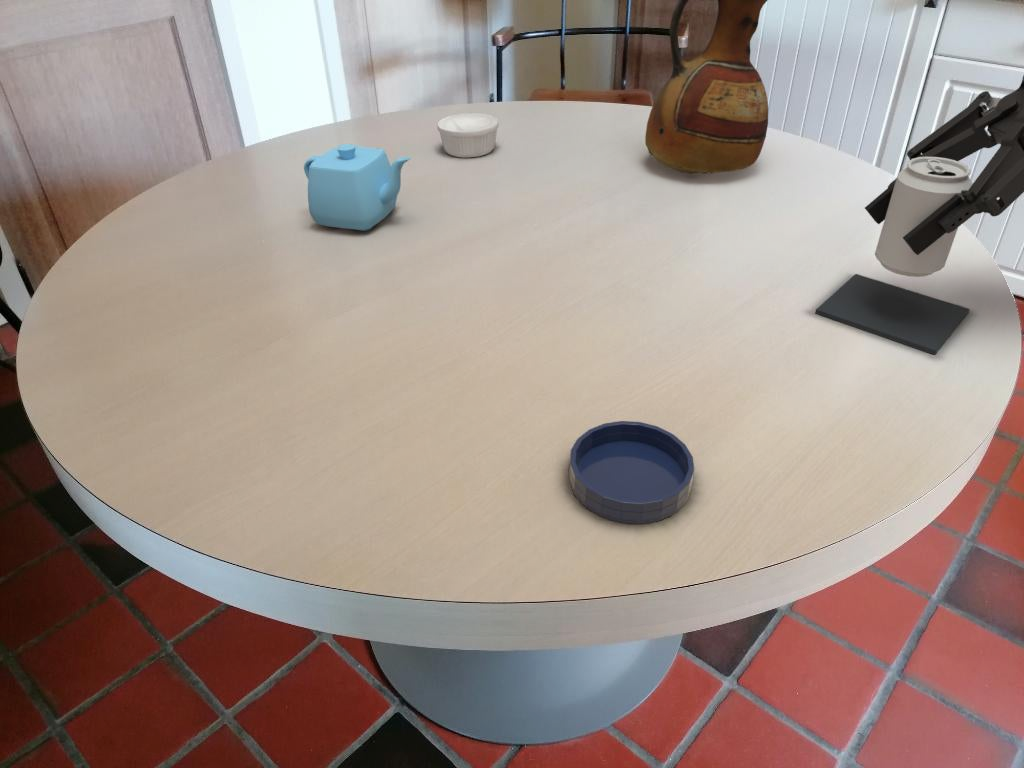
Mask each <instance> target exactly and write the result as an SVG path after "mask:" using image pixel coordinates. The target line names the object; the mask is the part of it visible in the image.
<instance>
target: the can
mask: <svg viewBox="0 0 1024 768" xmlns="http://www.w3.org/2000/svg"><path fill="white" fill-rule="evenodd" d="M971 173H972V170H971V168H970V167H969V166H968V164H967V165H966V164H964V163H963V162H960V161H955V160H951V159H947V158H940V157H918V158H914V159H911V160H910V159H909V160H908V161H907V164H906V167H905V168H904V169H902V170H901V171H899V172H898V173H897V175H896V178H897V179H896V178H895V179H896V182H895V186H894V189H893V193H892V196H891V200H890V203H889V206H888V210H887V213H886V217H885V220H884V221H883V224H882V228H881V231H880V234H879V238H878V241H877V245H876V248H875V251H874V256H875V258H876V260H877V261H878V262H879V263H880V265H881V266H882V267H883V268H884V269H885V270H887V271H889V272H891V273H892V274H893V273H894V274H896V275H900V276H904V277H911V278H920V277H928V276H932V275H933V273H937V272H939V271H941V270H942V269H943V268H945V267H946V263H947V260H948V258H949V256H950V255H949V254H950V252H951V249H952V246H953V244H954V240H955V238H956V235H957V232H958V229H959V227H958V228H957V229H955V230H954V231H953V232H950V233H945V234H944V235H943V236H941V237H940V238H939V239H938V240H936V241H935V242H934V243H933V244H931V245H930V246H929V247H928V248H926V249H925V250H924V251H923V252H921V253H920V254H919V255H917V254H915V253H914V252H913V251H912V249H911V248H910V247H909V245H908V244H907V243H906V242H905V240H904V239H903V237H904V236H905V235H906V234H908V233H909V232H910V231H911V230H912V229H914V228H915V227H916V226H917V225H919V224H920V223H921V222H922V221H924V220H925V219H926V218H927V217H928V216H930V215H931V214H932V213H933V212H935V211H936V210H937V209H938V208H940V207H941V206H942V205H943V204H944V203H946V202H947V201H948V200H950V199H951V198H952V197H953V196H955V195H956V194H957V195H959V196H960V197H961V198H962V200H964V197H963V196H962V194H961V191H962V190H963V191H964V190H969V188H970V187H971V186H972V184H973V183H974V182H972V179H971V178H970V175H971Z"/></svg>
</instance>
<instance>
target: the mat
mask: <svg viewBox="0 0 1024 768" xmlns="http://www.w3.org/2000/svg"><path fill="white" fill-rule="evenodd" d="M970 311H971V308H970V307H969V308H968V307H964V306H962V305H959V304H956V303H953V302H949V301H945V300H942V299H939V298H936V297H933V296H930V295H927V294H923V293H920V292H917V291H913V290H909V289H906V288H903V287H900V286H896V285H895V284H891V283H887V282H884V281H881V280H878V279H874V278H871V277H867V276H864V275H862V274H857V273H855V274H854V275H852V276H851V278H849V279H848V280H847V281H846V282H845V283H843V285H841V286H840V287H839V288H838V289H837V290H836V291H835V292H834V293H832V294H831V295H830V296H829V297H828V298H826V300H824V301H823V302H822V303H821V304H820V305H819V306H818V307H817V308H816V309H815V312H814V314H816V315H819V316H821V317H825V318H827V319H830V320H833V321H835V322H839V323H841V324H844V325H847V326H850V327H853V328H857V329H859V330H862V331H865V332H867V333H870V334H874V335H876V336H880V337H882V338H886V339H888V340H890V341H894V342H897V343H900V344H902V345H905V346H908V347H911V348H913V349H917V350H919V351H923V352H926V353H928V354H930V355H931V354H932V355H937V353H938V352H939V350H940V349H941V348H942V346H943V345H944V344H945V343H946V342H947V340H948V339H949V338H950V337H951V335H952V334H953V333H954V332H955V331H956V329H957V328H958V327H959V326H960V324H961V323H962V322H963V321H964V320H965V318H966V317H967V316H968V314H969V313H970Z"/></svg>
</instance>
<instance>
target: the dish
mask: <svg viewBox="0 0 1024 768" xmlns="http://www.w3.org/2000/svg"><path fill="white" fill-rule="evenodd" d="M694 475H695V463H694V456H693V455H692V453H691V451H690V450H689V448H688V446H687V445H686V444H685V443H684V442H683V441H682V440H681V439H680V438H679V437H677V436H676V435H675V434H673V433H672V432H670V431H668V430H665V429H664V428H663V427H662V428H661V427H660V426H657V425H654V424H651V423H650V424H649V423H646V422H642V421H632V420H631V421H629V420H618V421H611V422H605V423H602V424H599V425H597V426H595V427H591V428H589V429H588V430H586V431H585V432H584V433H583V434H581V435H580V436H579V437H577V439H576V440H575V442H574V444H573V446H572V448H571V449H570V457H569V484H570V487H571V490H572V492H573V495H574V496H575V497H576V499H577V500H578V501H579V502H580V503H581V505H583V506H584V507H585V508H586V509H588V510H589V511H590V512H592V513H593V514H595V515H597V516H599V517H601V518H603V519H607V520H610V521H613V522H617V523H622V524H631V525H634V524H635V525H642V524H650V523H656V522H659V521H662V520H665V519H667V518H669V517H671V516H672V515H674V514H676V513H677V512H679V511H680V510H681V509H682V508H683V506H684V505H686V503H687V501H688V499H689V496H690V494H691V490H692V487H693V480H694Z"/></svg>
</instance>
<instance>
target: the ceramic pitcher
mask: <svg viewBox="0 0 1024 768" xmlns="http://www.w3.org/2000/svg"><path fill="white" fill-rule="evenodd" d="M689 1H690V0H678V1H677V2H676V4H675V7H674V10H673V12H672V14H671V19H670V25H669V42H670V51H671V52H670V53H671V61H672V72H671V75H670V77H669V78H668V80H667V81H666V83H665V84H664V86H662V88H661V89H660V91H659V92H658V95H657V96H656V98H655V100H654V102H653V104H652V107H651V109H650V112H649V116H648V119H647V123H646V128H645V136H644V139H645V140H644V141H645V147H646V149H647V151H648V153H649V154H650V156H652V157H653V159H655V160H656V161H657V162H658V163H660V164H661V165H662V166H664V167H667V168H669V169H671V170H672V171H676V172H679V173H682V174H689V175H693V174H694V175H695V174H705V175H706V174H711V175H712V174H714V173H727V172H733V171H734V172H735V171H739V170H742V169H746V168H749V167H751V166H753V165H754V164H755V163H756V162H757V160H758V159H759V157H760V155H761V152H762V149H763V147H764V144H765V141H766V137H767V132H768V125H769V101H768V95H767V90H766V87H765V84H764V82H763V80H762V77H761V75H760V73H759V71H757V69H756V68H755V66H754V65H753V63H752V62H751V41H752V38H753V36H754V34H756V31H757V29H758V27H759V20H760V15H761V11H762V8H763V7H764V5H765V4H766V3H767V2H768V0H717V5H718V6H717V7H718V8H717V9H718V10H717V18H716V20H715V21H716V22H715V26H714V28H713V31H712V35H711V38H710V39H709V42H708V43H707V45H706V46H705V48H704V50H703V51H702V52H701V53H700V54H698V55H695V56H693V57H691V58H685V57H683V54H682V53H681V49H680V45H679V35H678V33H679V24H680V21H681V17H682V16H683V12H684V10H685V7H686V5H687V4H688V2H689Z"/></svg>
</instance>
